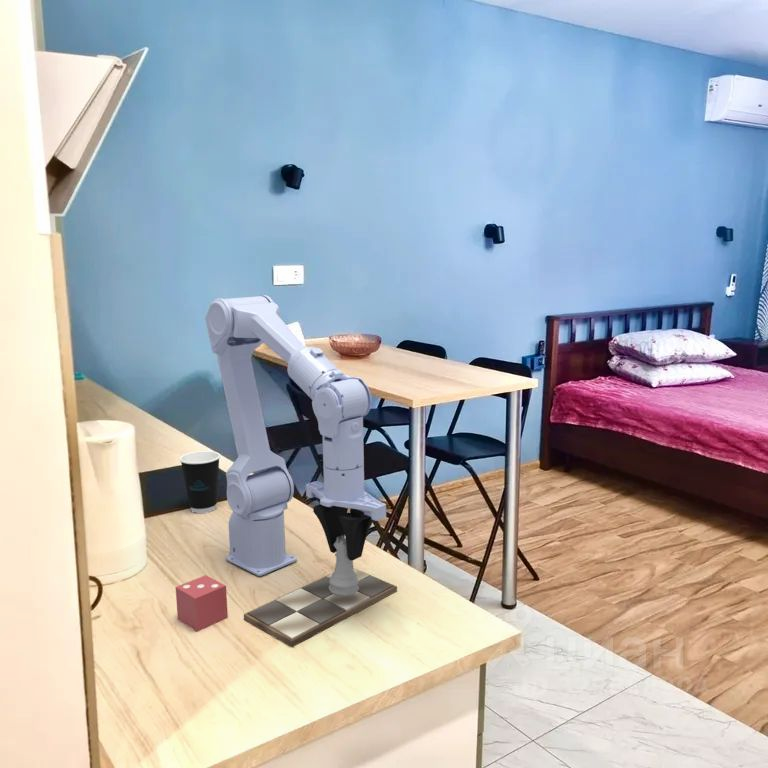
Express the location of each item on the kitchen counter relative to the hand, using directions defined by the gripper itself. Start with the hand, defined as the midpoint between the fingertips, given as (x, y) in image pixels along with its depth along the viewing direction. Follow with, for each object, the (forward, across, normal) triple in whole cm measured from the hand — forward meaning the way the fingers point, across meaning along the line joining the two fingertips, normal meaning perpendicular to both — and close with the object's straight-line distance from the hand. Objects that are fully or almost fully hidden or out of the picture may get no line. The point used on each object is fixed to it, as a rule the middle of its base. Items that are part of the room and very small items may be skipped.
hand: (345, 554), depth 104 cm
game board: (+8, -2, -2) cm, 9 cm away
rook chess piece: (+6, 0, -1) cm, 6 cm away
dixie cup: (+8, -50, +8) cm, 51 cm away
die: (+8, -12, -16) cm, 22 cm away
